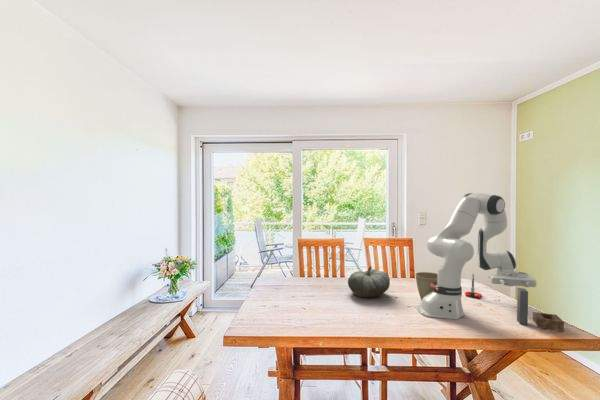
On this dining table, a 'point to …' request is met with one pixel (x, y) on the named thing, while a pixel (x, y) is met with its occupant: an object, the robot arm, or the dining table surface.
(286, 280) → the dining table surface
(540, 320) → the brown square socket block
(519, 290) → the gray rectangular bar
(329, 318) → the dining table surface
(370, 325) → the dining table surface
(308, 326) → the dining table surface
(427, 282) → the plant pot
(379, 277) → the gourd
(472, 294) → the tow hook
